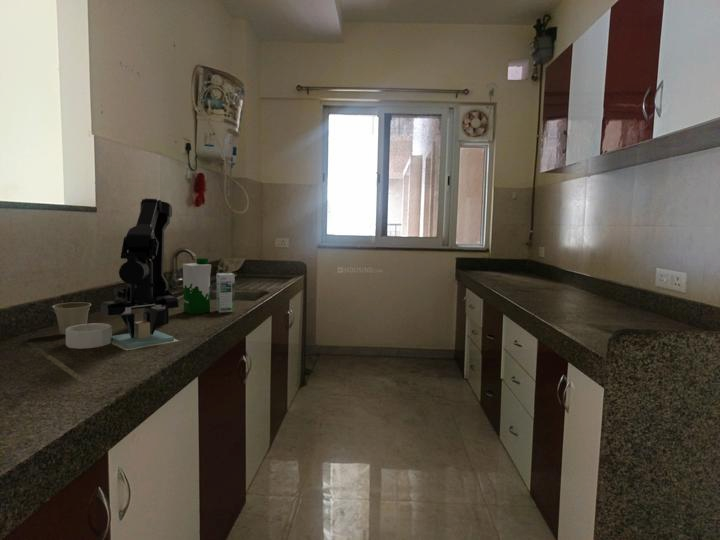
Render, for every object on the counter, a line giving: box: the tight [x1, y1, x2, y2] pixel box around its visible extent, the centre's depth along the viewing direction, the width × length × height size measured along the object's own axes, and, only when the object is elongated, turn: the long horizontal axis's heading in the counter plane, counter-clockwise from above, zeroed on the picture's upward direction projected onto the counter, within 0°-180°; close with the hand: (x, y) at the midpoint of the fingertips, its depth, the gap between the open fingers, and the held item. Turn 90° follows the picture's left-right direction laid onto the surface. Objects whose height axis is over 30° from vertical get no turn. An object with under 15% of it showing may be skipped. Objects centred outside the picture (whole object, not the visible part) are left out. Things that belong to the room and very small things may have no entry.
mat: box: [110, 338, 180, 351], centre depth 122 cm, size 14×14×1 cm
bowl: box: [65, 322, 113, 350], centre depth 118 cm, size 10×10×5 cm
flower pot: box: [52, 301, 92, 335], centre depth 129 cm, size 9×9×9 cm
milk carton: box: [182, 257, 212, 315], centre depth 166 cm, size 9×9×20 cm
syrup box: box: [216, 272, 236, 314], centre depth 170 cm, size 6×6×14 cm
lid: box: [112, 320, 175, 349], centre depth 122 cm, size 12×12×5 cm
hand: (141, 335), depth 122 cm, fingers open, 5 cm apart
